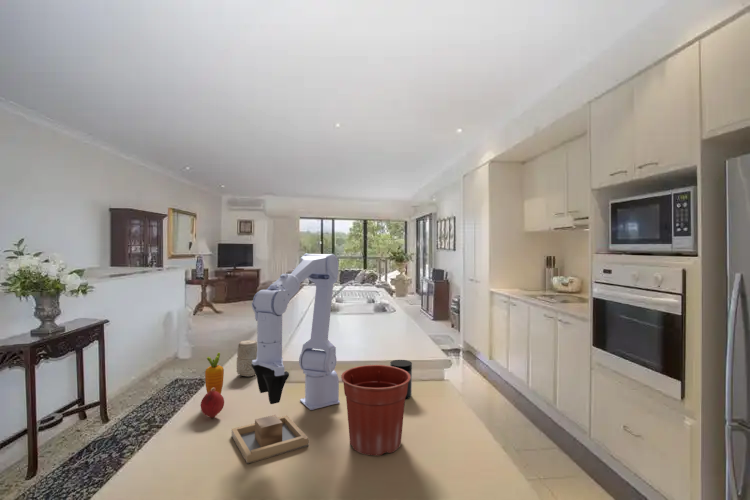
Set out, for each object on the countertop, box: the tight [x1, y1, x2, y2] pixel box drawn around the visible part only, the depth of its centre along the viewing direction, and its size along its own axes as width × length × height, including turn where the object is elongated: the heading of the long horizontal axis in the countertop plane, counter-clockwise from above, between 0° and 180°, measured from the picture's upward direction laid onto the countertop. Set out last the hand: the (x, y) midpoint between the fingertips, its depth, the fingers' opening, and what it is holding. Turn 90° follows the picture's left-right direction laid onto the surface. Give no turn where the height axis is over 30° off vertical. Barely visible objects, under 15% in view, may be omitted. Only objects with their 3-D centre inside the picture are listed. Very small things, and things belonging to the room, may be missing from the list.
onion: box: [200, 388, 225, 419], centre depth 103 cm, size 6×6×8 cm
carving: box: [236, 339, 257, 377], centre depth 137 cm, size 6×8×12 cm
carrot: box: [204, 352, 225, 395], centre depth 111 cm, size 5×5×15 cm
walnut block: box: [254, 414, 282, 447], centre depth 91 cm, size 5×5×4 cm
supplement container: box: [389, 359, 413, 401], centre depth 119 cm, size 7×7×10 cm
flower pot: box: [340, 364, 411, 456], centre depth 91 cm, size 16×16×16 cm
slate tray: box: [231, 414, 309, 465], centre depth 91 cm, size 14×14×2 cm
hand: (269, 397), depth 91 cm, fingers open, 7 cm apart
